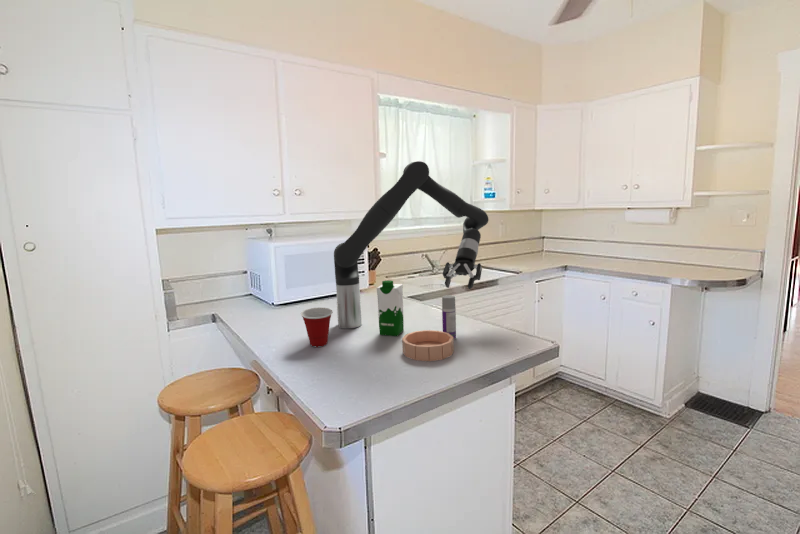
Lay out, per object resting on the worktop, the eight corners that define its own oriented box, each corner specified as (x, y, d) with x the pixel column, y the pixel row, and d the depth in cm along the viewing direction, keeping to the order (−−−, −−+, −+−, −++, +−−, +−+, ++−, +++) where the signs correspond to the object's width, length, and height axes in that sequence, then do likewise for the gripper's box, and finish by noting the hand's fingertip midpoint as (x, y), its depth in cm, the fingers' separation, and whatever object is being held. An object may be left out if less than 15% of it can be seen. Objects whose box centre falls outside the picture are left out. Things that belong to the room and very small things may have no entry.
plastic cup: (307, 352, 133) (305, 317, 132) (299, 343, 143) (297, 310, 141) (338, 346, 138) (336, 312, 137) (329, 337, 148) (327, 305, 146)
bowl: (410, 363, 120) (410, 349, 120) (398, 346, 136) (397, 333, 135) (460, 357, 124) (460, 343, 123) (443, 340, 139) (443, 328, 139)
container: (441, 336, 144) (440, 295, 142) (454, 335, 144) (453, 294, 142) (444, 340, 139) (443, 298, 137) (457, 339, 140) (456, 297, 138)
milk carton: (376, 335, 148) (373, 282, 145) (385, 328, 156) (383, 277, 153) (399, 337, 145) (396, 283, 142) (406, 329, 153) (404, 278, 150)
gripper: (447, 246, 157) (437, 280, 149) (483, 246, 150) (474, 282, 142) (452, 258, 162) (442, 291, 154) (487, 259, 156) (479, 294, 148)
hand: (458, 287), depth 148 cm, fingers open, 8 cm apart
